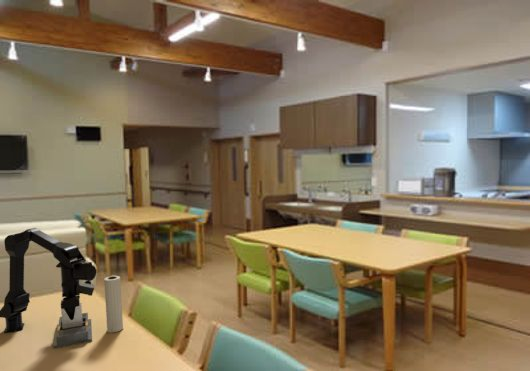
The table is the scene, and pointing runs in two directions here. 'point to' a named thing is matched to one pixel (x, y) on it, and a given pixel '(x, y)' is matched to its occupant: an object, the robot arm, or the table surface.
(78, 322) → the plain gray rectangular block
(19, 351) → the table surface
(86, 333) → the rack
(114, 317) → the paper towel roll
